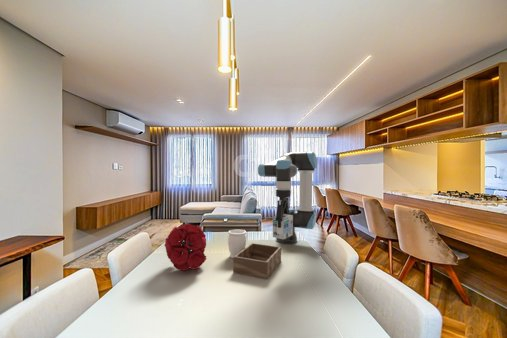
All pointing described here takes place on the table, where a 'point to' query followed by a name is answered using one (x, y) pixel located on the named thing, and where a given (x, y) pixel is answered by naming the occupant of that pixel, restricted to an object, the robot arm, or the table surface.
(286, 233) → the light bulb box
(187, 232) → the bouquet
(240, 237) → the jar
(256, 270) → the walnut crate
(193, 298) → the table surface
